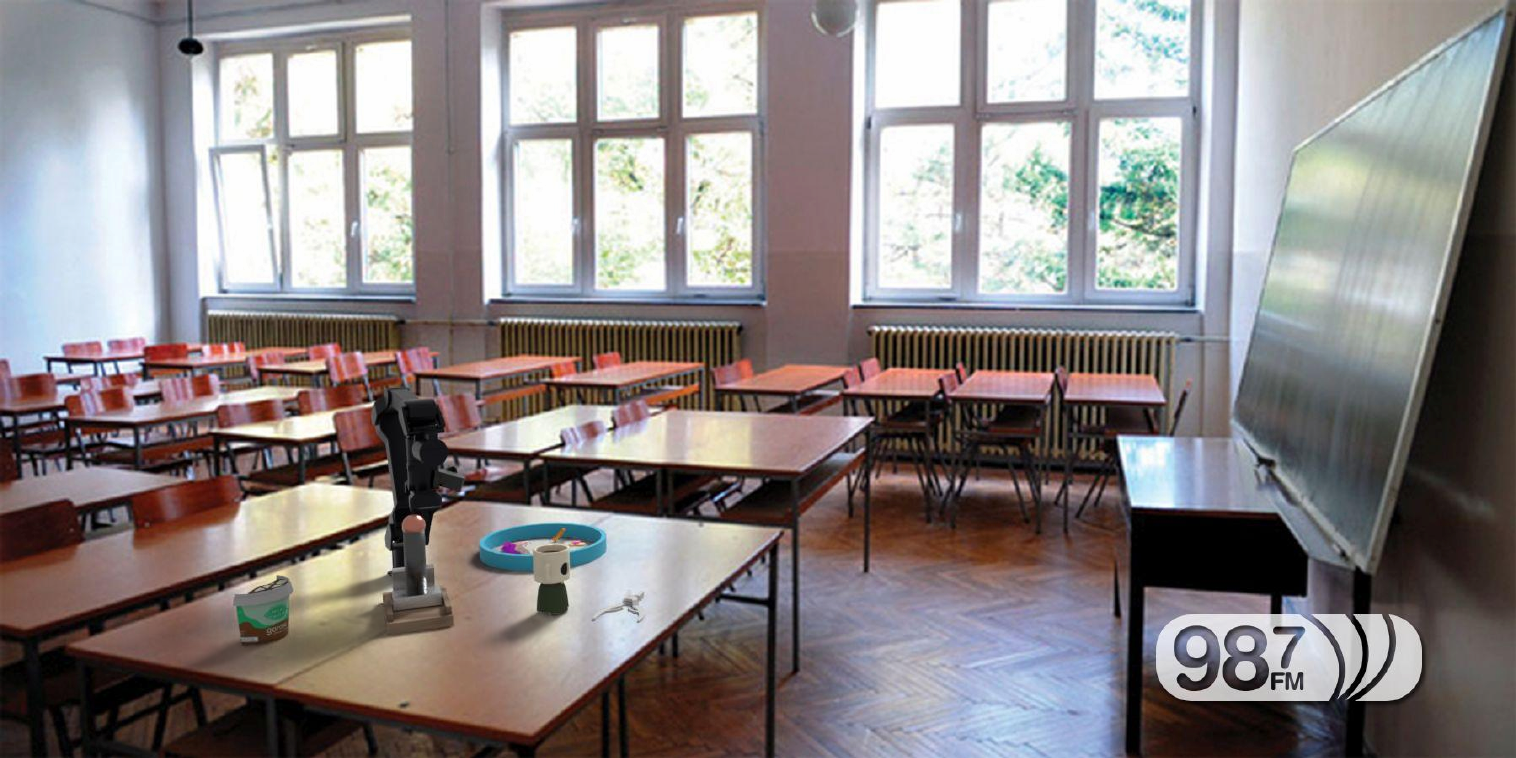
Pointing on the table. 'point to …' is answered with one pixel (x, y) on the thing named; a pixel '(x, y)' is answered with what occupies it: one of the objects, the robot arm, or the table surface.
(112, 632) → the table surface
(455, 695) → the table surface
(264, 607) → the food container
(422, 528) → the handle
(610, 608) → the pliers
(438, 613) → the board
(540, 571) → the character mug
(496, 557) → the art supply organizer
